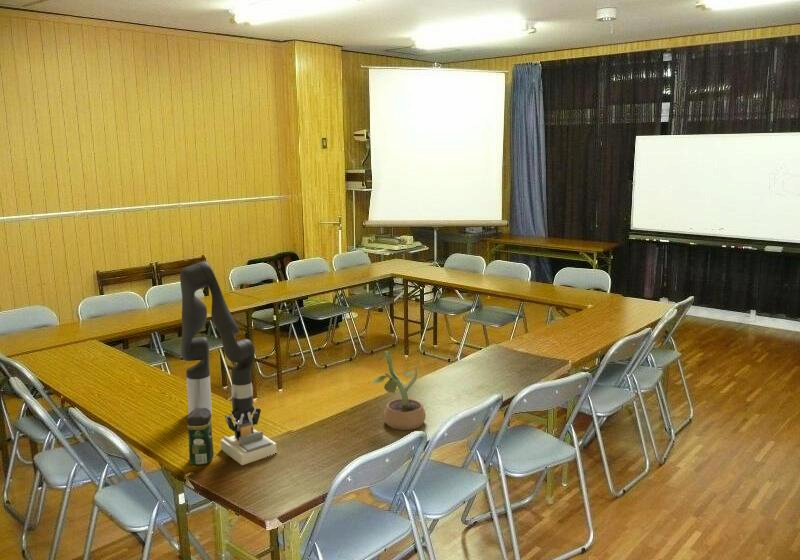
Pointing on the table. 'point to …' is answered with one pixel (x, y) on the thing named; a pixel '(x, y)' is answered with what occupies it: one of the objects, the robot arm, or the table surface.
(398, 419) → the potted plant
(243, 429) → the plug
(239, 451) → the socket
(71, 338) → the table surface
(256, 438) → the shutter
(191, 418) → the coffee jar
